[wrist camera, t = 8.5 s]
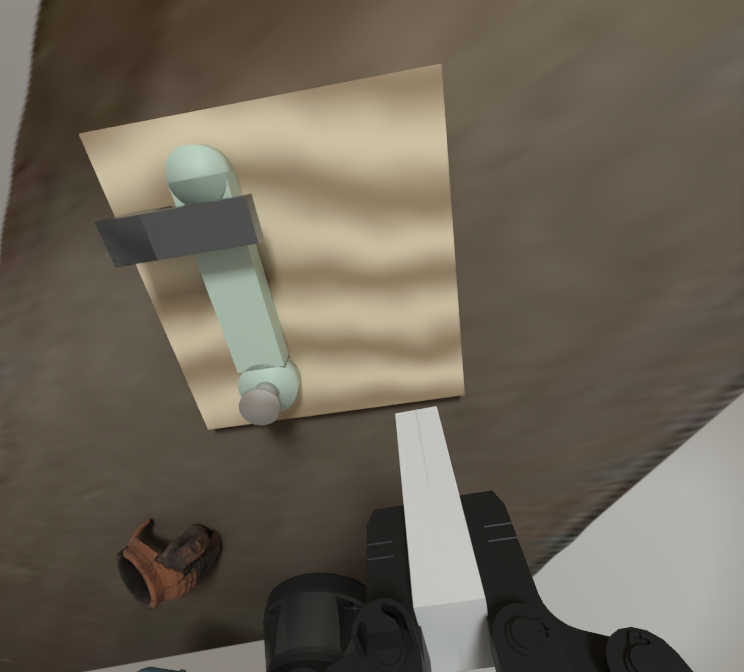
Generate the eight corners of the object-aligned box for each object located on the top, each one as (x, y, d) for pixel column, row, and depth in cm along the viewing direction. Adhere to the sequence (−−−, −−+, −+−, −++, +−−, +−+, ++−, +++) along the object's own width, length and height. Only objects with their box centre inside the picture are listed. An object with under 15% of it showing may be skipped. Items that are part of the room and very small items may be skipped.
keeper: (274, 230, 30) (258, 243, 26) (149, 251, 30) (115, 267, 26) (262, 189, 28) (244, 195, 24) (133, 212, 29) (94, 222, 25)
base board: (461, 386, 38) (478, 430, 32) (213, 419, 39) (185, 468, 33) (437, 67, 26) (457, 44, 20) (92, 134, 28) (18, 130, 22)
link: (306, 395, 36) (303, 408, 34) (254, 403, 36) (248, 416, 34) (232, 138, 27) (221, 137, 25) (162, 151, 27) (147, 151, 25)
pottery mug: (207, 569, 51) (145, 625, 44) (167, 509, 52) (100, 554, 45) (248, 545, 44) (182, 607, 37) (201, 476, 45) (129, 524, 38)
